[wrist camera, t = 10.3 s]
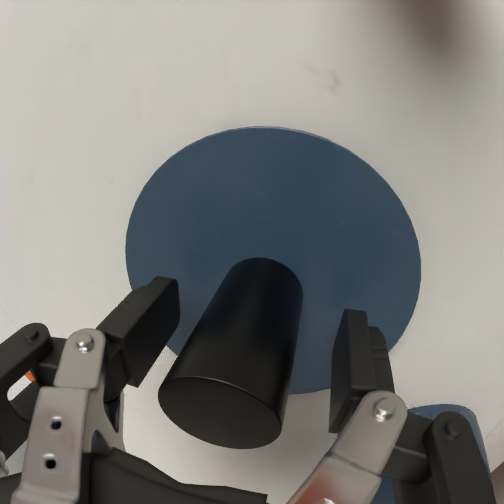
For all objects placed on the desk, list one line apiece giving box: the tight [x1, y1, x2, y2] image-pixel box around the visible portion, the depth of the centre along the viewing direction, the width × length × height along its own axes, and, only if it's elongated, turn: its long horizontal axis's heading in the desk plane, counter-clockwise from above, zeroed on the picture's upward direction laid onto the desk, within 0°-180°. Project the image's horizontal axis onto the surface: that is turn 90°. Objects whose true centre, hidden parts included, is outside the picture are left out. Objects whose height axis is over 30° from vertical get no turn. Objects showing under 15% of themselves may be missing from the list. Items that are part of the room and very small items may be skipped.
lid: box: [125, 126, 421, 449], centre depth 10 cm, size 13×13×7 cm
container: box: [370, 404, 494, 504], centre depth 13 cm, size 12×12×8 cm
